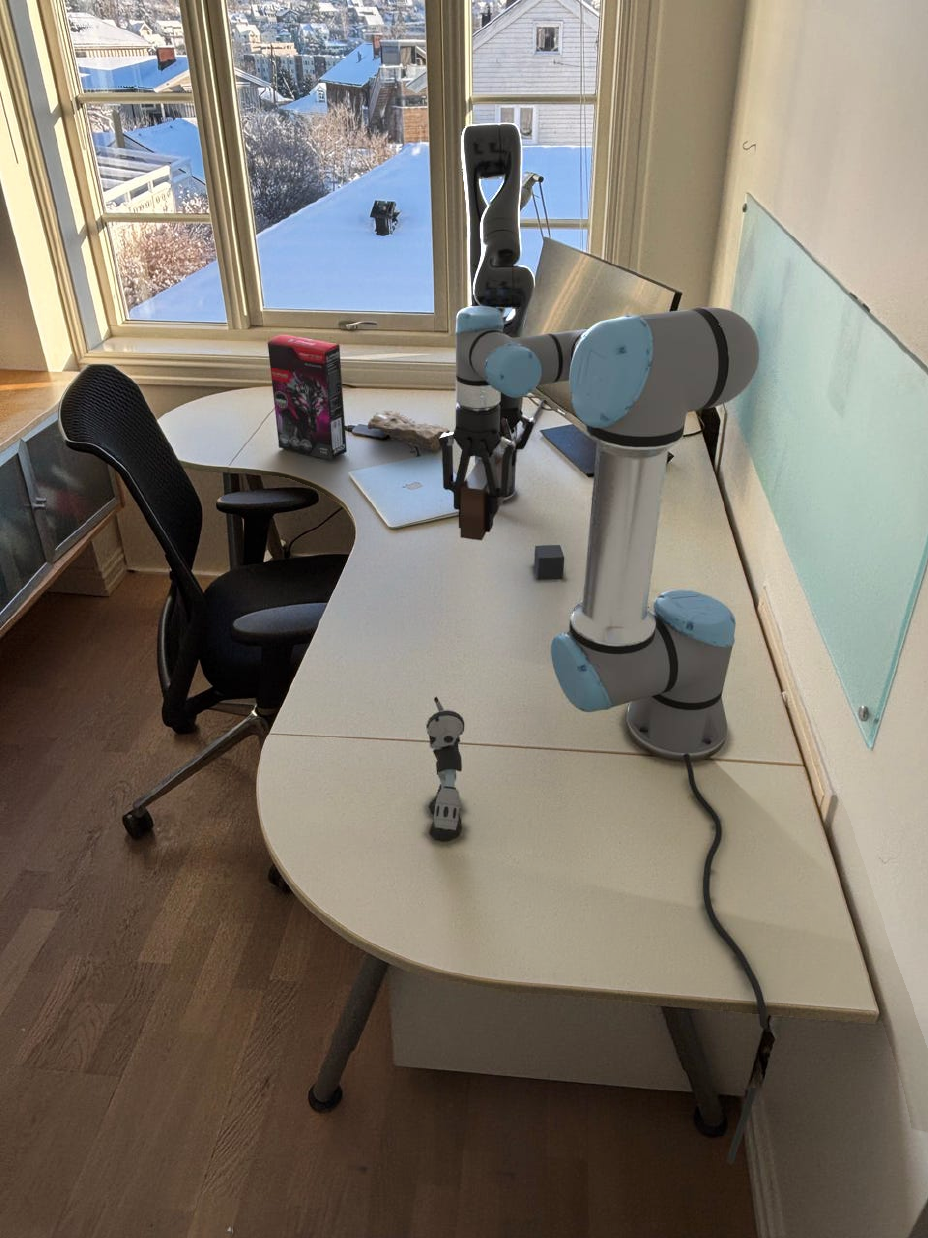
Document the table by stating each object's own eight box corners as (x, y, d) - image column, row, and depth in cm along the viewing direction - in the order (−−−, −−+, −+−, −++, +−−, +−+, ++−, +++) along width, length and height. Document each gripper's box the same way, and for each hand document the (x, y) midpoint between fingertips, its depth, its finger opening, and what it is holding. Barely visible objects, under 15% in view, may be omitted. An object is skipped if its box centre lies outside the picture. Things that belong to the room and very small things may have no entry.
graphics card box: (276, 448, 231) (264, 340, 216) (293, 439, 236) (282, 332, 221) (333, 462, 225) (324, 351, 209) (349, 452, 230) (341, 343, 214)
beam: (481, 540, 165) (482, 489, 159) (460, 537, 165) (460, 486, 160) (511, 484, 184) (513, 437, 178) (492, 482, 185) (493, 435, 179)
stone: (352, 434, 231) (356, 410, 229) (373, 426, 244) (377, 403, 242) (430, 458, 227) (435, 434, 225) (447, 448, 241) (452, 426, 238)
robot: (467, 874, 119) (468, 759, 108) (429, 876, 119) (427, 760, 108) (460, 769, 135) (460, 659, 124) (426, 770, 135) (424, 660, 124)
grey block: (562, 579, 180) (564, 557, 178) (537, 580, 180) (538, 558, 177) (558, 566, 184) (560, 544, 182) (533, 567, 184) (535, 545, 181)
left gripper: (543, 376, 170) (538, 462, 180) (469, 369, 174) (468, 453, 183) (535, 390, 164) (530, 478, 174) (458, 382, 168) (458, 469, 177)
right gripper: (533, 400, 156) (526, 523, 169) (434, 390, 159) (436, 511, 172) (523, 416, 150) (518, 542, 163) (421, 405, 153) (424, 529, 166)
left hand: (498, 465), depth 179 cm, fingers closed on beam, 4 cm apart
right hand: (476, 526), depth 167 cm, fingers open, 4 cm apart
